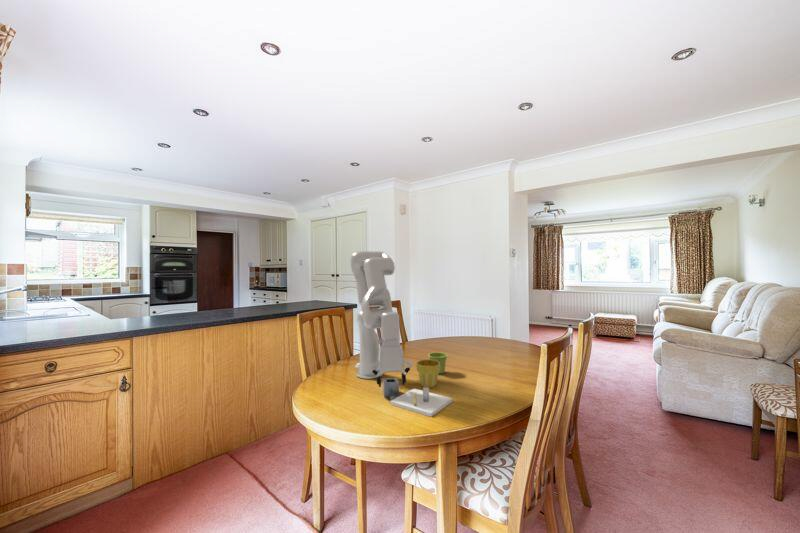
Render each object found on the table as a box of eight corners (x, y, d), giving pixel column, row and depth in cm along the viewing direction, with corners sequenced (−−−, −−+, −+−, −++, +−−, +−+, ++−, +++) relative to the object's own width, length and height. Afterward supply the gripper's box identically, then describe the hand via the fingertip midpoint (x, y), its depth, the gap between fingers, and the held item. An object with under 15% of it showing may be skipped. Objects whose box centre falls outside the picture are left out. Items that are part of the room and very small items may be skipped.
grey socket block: (382, 391, 139) (382, 378, 139) (396, 390, 140) (396, 377, 140) (385, 401, 129) (385, 387, 129) (400, 400, 130) (400, 386, 130)
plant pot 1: (426, 374, 160) (426, 356, 160) (430, 368, 169) (430, 351, 169) (446, 376, 157) (445, 358, 157) (449, 370, 166) (448, 352, 166)
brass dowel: (413, 405, 122) (413, 393, 122) (414, 404, 123) (414, 392, 123) (415, 406, 121) (415, 393, 121) (417, 405, 122) (417, 393, 122)
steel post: (422, 401, 126) (421, 388, 126) (425, 399, 128) (425, 386, 128) (427, 402, 124) (426, 389, 124) (430, 400, 126) (429, 387, 126)
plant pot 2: (439, 389, 140) (439, 366, 140) (415, 388, 142) (414, 365, 142) (441, 381, 150) (441, 359, 150) (418, 380, 153) (418, 358, 153)
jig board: (390, 404, 126) (390, 401, 126) (413, 391, 139) (413, 388, 139) (430, 416, 115) (430, 413, 115) (452, 401, 128) (452, 398, 128)
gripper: (369, 345, 131) (370, 389, 130) (413, 343, 133) (414, 386, 133) (368, 342, 138) (369, 383, 138) (409, 339, 141) (410, 380, 140)
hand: (391, 385), depth 135 cm, fingers open, 9 cm apart
